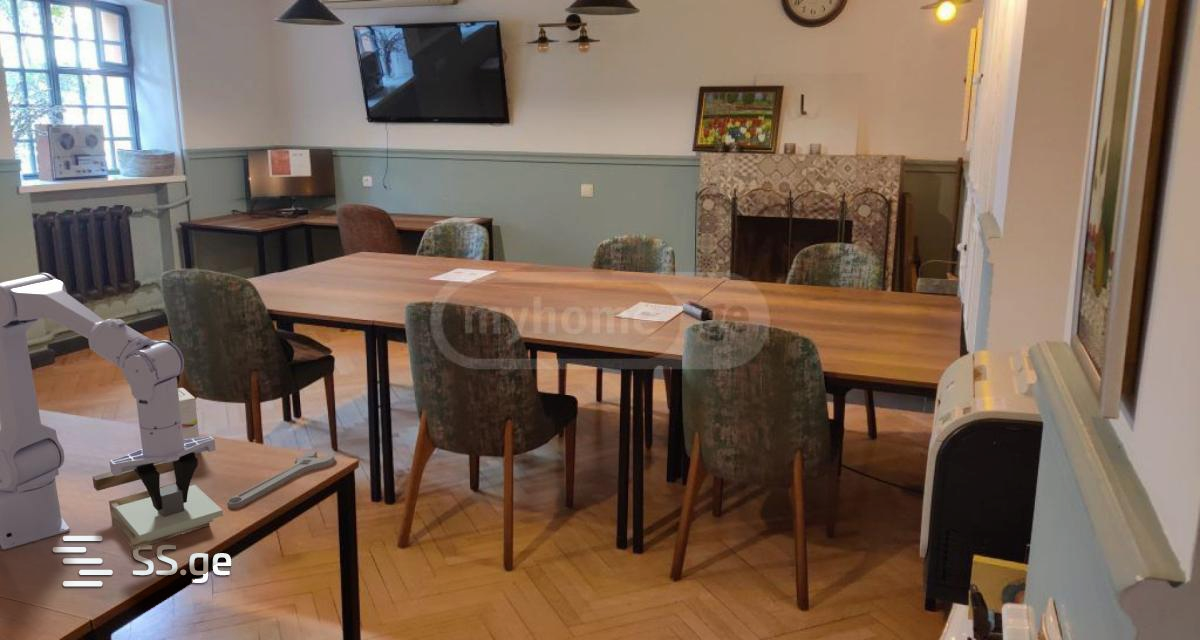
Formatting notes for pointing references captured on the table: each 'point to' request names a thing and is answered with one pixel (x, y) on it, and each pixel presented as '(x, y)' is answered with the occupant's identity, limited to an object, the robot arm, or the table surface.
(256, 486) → the adjustable wrench
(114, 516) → the open wooden tray
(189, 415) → the ink cartridge box
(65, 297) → the robot arm
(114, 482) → the brown rectangular block
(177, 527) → the lid
